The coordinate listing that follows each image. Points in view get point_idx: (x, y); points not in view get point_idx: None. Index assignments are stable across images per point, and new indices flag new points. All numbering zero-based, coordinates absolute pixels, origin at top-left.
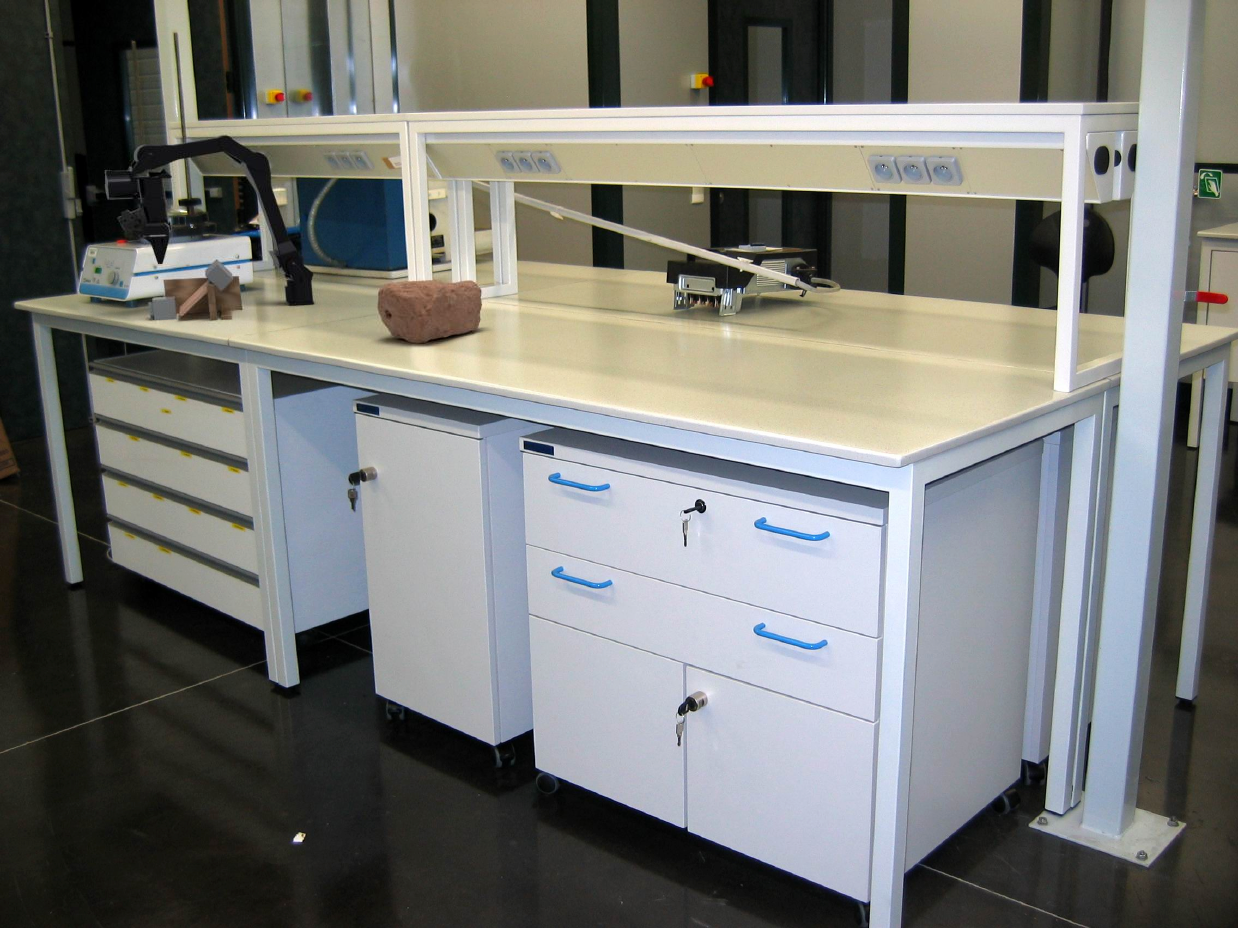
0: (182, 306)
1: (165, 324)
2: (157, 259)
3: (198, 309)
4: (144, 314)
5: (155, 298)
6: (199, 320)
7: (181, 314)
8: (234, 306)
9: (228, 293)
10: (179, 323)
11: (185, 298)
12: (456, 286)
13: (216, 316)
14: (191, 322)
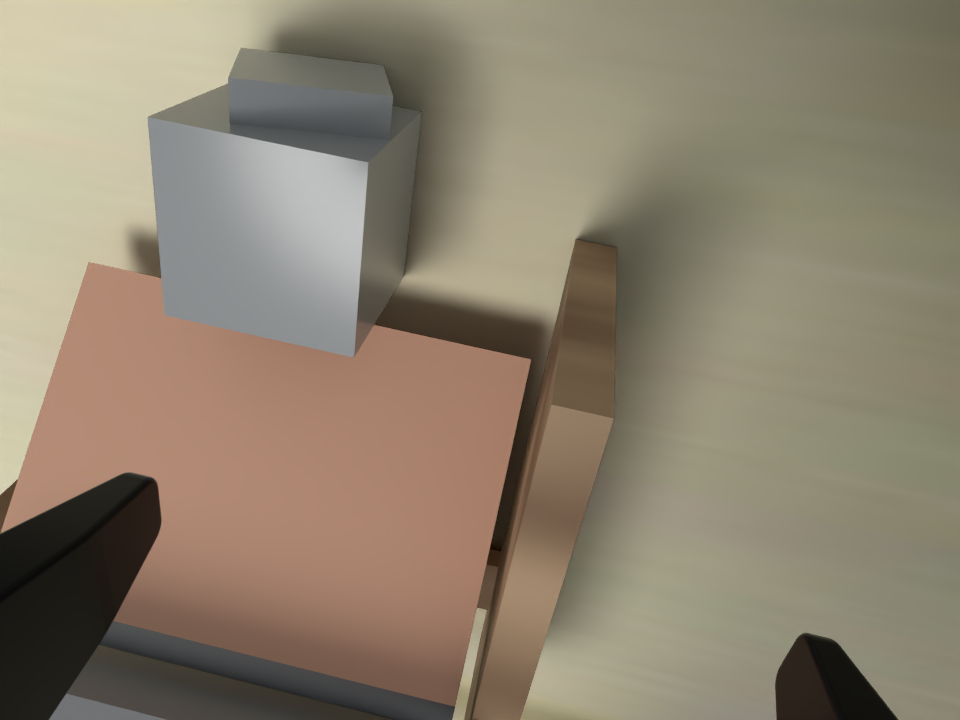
0: (384, 358)
1: (12, 120)
2: (47, 526)
3: (525, 454)
4: (713, 48)
5: (282, 173)
6: None
7: (92, 276)
8: (483, 629)
9: (472, 689)
10: (36, 219)
11: (531, 442)
12: None
13: None
14: (62, 296)
